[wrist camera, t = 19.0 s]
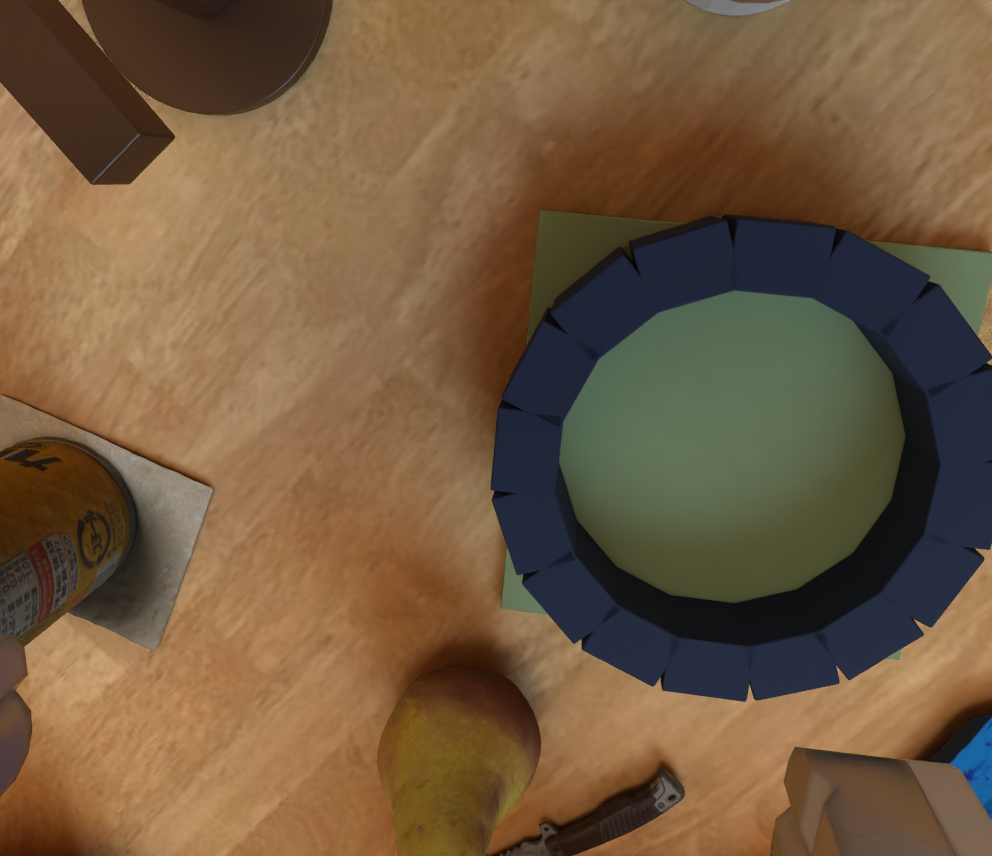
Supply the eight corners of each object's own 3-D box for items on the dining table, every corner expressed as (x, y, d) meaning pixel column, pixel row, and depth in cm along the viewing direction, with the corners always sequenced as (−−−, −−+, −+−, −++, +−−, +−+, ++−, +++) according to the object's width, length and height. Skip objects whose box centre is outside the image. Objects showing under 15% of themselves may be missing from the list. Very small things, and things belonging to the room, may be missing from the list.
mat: (540, 209, 28) (539, 210, 28) (991, 251, 27) (998, 253, 27) (501, 602, 32) (500, 608, 32) (894, 653, 31) (899, 660, 30)
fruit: (383, 643, 33) (269, 892, 21) (535, 632, 32) (502, 885, 21) (407, 771, 34) (313, 1069, 23) (553, 764, 33) (532, 1069, 22)
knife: (652, 748, 32) (693, 809, 32) (651, 735, 33) (691, 796, 33) (296, 904, 36) (337, 956, 37) (302, 890, 37) (342, 941, 38)
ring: (524, 195, 28) (516, 197, 25) (1019, 241, 26) (1071, 248, 24) (485, 621, 32) (474, 665, 29) (910, 677, 31) (943, 729, 28)
